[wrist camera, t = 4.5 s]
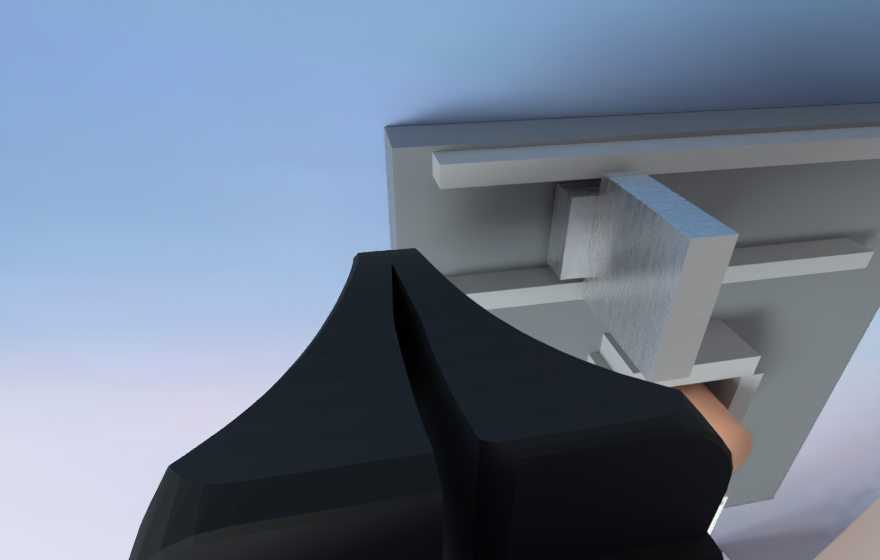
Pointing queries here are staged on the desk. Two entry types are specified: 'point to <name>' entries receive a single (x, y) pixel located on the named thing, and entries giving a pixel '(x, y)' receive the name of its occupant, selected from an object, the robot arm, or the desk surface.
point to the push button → (720, 421)
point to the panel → (707, 187)
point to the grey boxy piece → (642, 265)
